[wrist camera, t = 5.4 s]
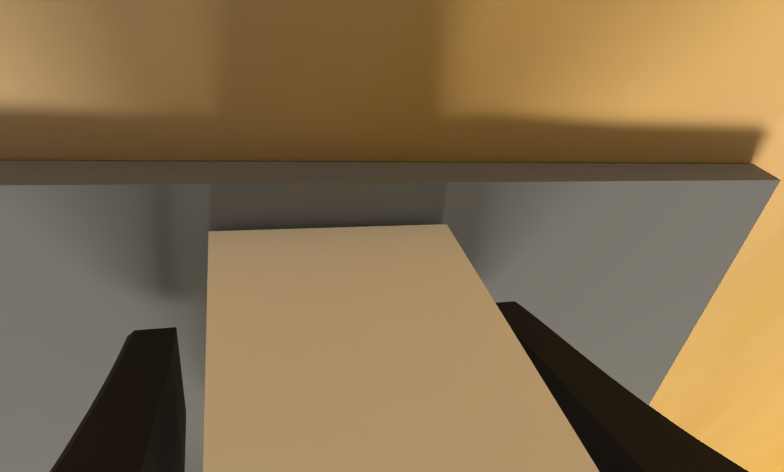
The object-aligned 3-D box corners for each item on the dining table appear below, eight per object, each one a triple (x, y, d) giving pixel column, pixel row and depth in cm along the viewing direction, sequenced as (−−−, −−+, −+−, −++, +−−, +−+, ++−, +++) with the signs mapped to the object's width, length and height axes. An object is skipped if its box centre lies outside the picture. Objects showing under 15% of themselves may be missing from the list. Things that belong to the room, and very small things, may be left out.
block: (219, 426, 12) (221, 759, 7) (207, 231, 9) (198, 581, 5) (408, 402, 13) (503, 675, 9) (447, 224, 10) (616, 495, 6)
